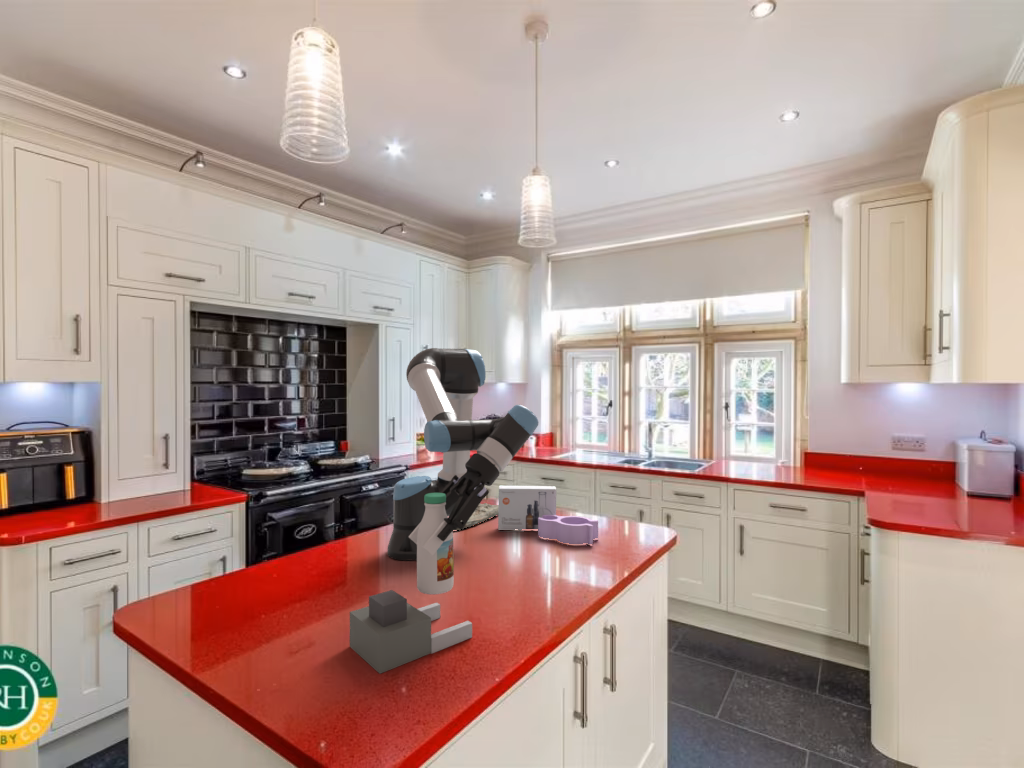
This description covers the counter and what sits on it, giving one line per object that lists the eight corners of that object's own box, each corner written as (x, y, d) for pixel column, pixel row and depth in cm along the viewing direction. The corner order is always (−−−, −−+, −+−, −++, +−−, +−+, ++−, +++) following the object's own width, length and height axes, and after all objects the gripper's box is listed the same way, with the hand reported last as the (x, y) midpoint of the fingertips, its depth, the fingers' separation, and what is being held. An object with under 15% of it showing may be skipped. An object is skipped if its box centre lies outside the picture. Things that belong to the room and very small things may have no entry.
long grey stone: (437, 533, 188) (459, 539, 183) (437, 519, 188) (459, 525, 183) (489, 508, 218) (509, 513, 213) (489, 496, 218) (509, 500, 213)
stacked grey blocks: (349, 646, 104) (349, 591, 104) (436, 615, 118) (436, 567, 118) (380, 674, 94) (380, 614, 94) (472, 637, 108) (472, 584, 108)
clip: (533, 540, 176) (533, 520, 176) (546, 531, 187) (546, 512, 187) (590, 549, 167) (590, 527, 167) (600, 538, 178) (600, 518, 178)
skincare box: (498, 532, 185) (498, 488, 185) (498, 527, 191) (498, 485, 191) (556, 532, 185) (556, 488, 185) (555, 528, 191) (555, 485, 191)
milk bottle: (423, 598, 104) (423, 499, 104) (412, 585, 111) (412, 492, 111) (459, 591, 108) (458, 495, 108) (446, 579, 115) (446, 489, 115)
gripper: (522, 480, 109) (452, 571, 100) (477, 467, 126) (414, 544, 118) (500, 457, 106) (426, 548, 98) (457, 447, 123) (391, 524, 115)
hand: (420, 545), depth 108 cm, fingers closed on milk bottle, 7 cm apart
